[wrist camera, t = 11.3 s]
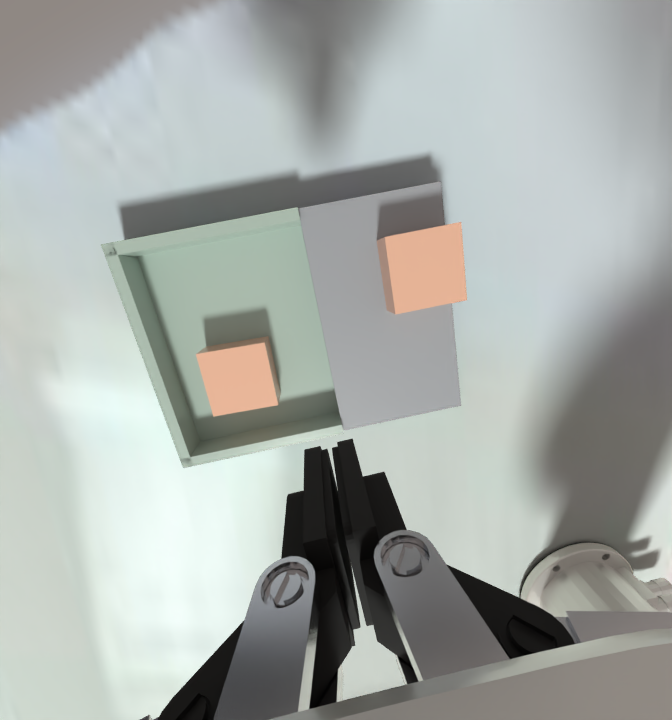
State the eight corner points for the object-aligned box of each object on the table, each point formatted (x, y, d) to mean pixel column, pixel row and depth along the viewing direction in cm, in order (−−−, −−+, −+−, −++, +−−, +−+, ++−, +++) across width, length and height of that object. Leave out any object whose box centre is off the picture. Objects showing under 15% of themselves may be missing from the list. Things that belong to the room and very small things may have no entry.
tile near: (445, 227, 23) (460, 222, 21) (451, 297, 24) (467, 300, 22) (376, 240, 23) (384, 236, 20) (386, 310, 24) (395, 314, 22)
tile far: (195, 354, 23) (206, 346, 26) (213, 416, 25) (221, 403, 27) (264, 342, 24) (268, 336, 26) (278, 405, 25) (280, 393, 27)
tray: (298, 214, 24) (297, 207, 21) (340, 417, 29) (343, 433, 26) (125, 248, 24) (100, 244, 21) (195, 448, 29) (183, 468, 26)
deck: (427, 190, 25) (440, 181, 22) (448, 394, 29) (461, 405, 27) (298, 214, 24) (297, 208, 22) (340, 417, 29) (343, 430, 27)
